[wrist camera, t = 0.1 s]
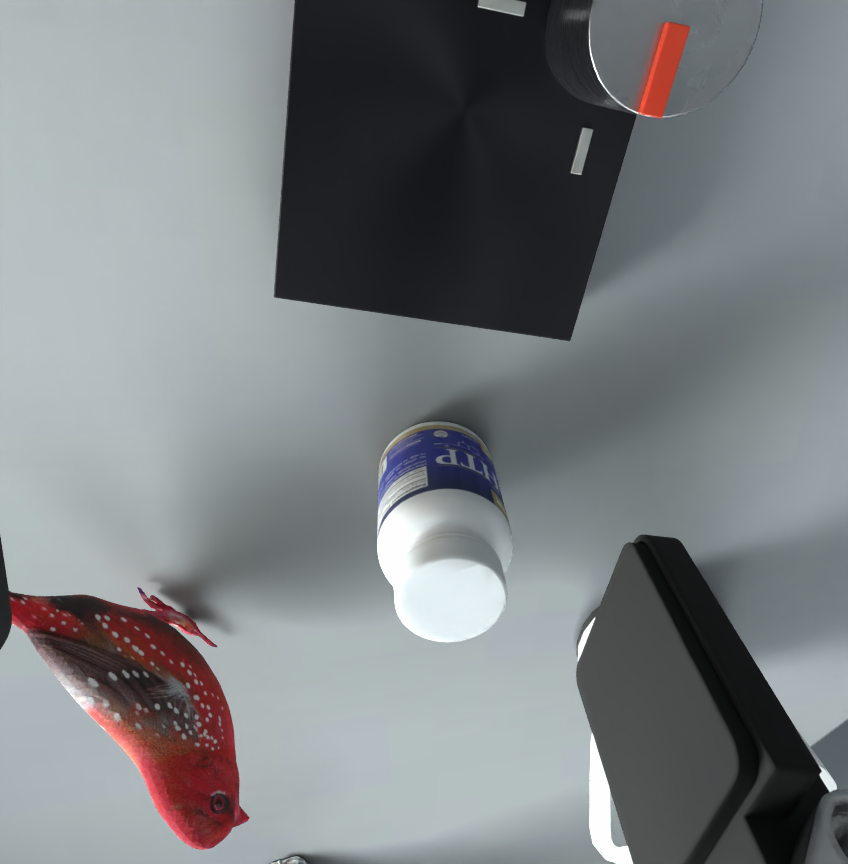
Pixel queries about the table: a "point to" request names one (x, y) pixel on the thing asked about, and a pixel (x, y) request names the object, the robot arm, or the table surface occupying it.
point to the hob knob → (650, 51)
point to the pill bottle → (443, 531)
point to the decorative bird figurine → (146, 701)
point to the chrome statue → (291, 861)
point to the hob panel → (441, 166)
